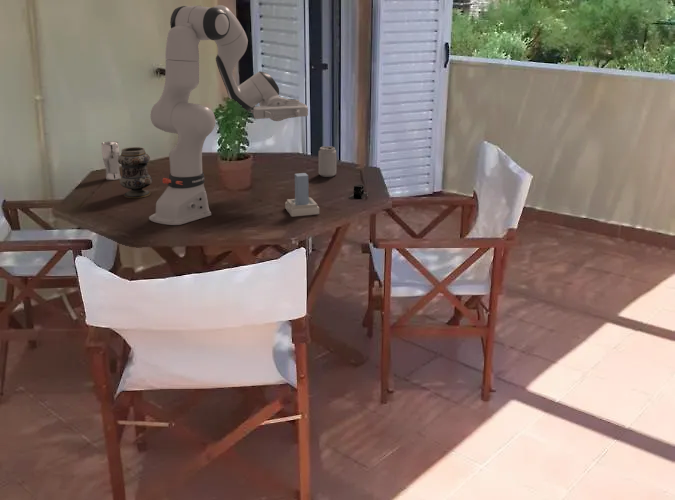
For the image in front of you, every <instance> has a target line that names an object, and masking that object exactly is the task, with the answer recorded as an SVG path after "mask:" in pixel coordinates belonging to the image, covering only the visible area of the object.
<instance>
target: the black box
mask: <svg viewBox="0 0 675 500" xmlns="http://www.w3.org/2000/svg"><path fill="white" fill-rule="evenodd" d="M367 193H368V192H365V185H364V184H362V183H356V184H355V185H354V186H353V193H352V194H351V195H350V196H349V197H348V199H354V200H363V199H364V198H365V197H367V195H368V194H367Z"/></svg>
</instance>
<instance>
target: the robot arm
mask: <svg viewBox="0 0 675 500" xmlns="http://www.w3.org/2000/svg"><path fill="white" fill-rule="evenodd" d="M169 23H170V24H169V25H170V30H169V31H168V32H167V37H166V43H165V46H166V47H165V76H164V79H165V80H164V86H163V90H162V93H161V96H160V97H159V100H157V102H156V103H155V104H153V106H152V108H151V109H150V122H151V123H152V125H153V126H154V127H155V128H156V129H159V130H160V131H162V132H165V133H169V134H176V135H177V137H178V138H177V143H176V145H175V146H174V147H173V148H171V149H170V150H169V153H168V157H169V158H168V159H169V170H170V171H169V172H170V174H169V176H168V178H167V177H163V178H162V183H163V184H167V187H166V188H165V189H164V191H163V192H162V194H161V195H160V197H158V199H157V201H156V203H155V213H153V214H151V215H149V216H148V220H149V221H151V222H154V223H157V224H161V225H168V226H180V225H184V224H187V223H190V222H194V221H197V220H199V219H203V218H207V217H210V216H212V212H211V210H210V208H209V206H210V205H209V201H208V195H207V191H206V188H205V174H204V171H203V147H204V143H205V140H206V139H207V137H208V136H209V135H210V134H212V132H213V130H214V128H215V126H216V116H215V113H214V111H213V110H212V109H211V108H210V107H207V106H205V105H202V104H199V103H193V102H189V99H190V94H191V93H192V91H193V90H195V89H196V88H198V87H199V86H198V85H199V83H200V53H199V52H200V51H199V49H200V48H199V45H200V42H201V41H214V43H215V45H216V46H217V54H216V56H215V61H216V62H215V63H216V66H217V70H218V72H219V75H220V77H221V79H222V82H223V84H224V87H225V89H226V92H227V96H228V99H229V98H230V99H234V100H235V101H237V102H238V103H239V104H240V105H242V107H243V108H245V109H246V110H247V111H248V112H250V113H251V114H253V118H254V119H255V120H260V119H261V120H265V119H270V120H271V121H274V122H281V121H284V120H287V119H292V118H300V117H303V118H304V117H308V115H309V113H308V112H309V107H308V105H306V104H305V103H303V102H300V100H299V99H295V98H293V99H292V98H285V97H280V88H279V85H278V84H277V82H276V81H275V80H274V78H273V77H272V76H271V75H270V74H269V73H267V72H264V71H261V70H260V71H258V72H256V73H254V74H253V75H252V76H250V77H249V78H247V79H246V80H245V81H244V82H243V81H242V83H240V84H239V85H238V84H237V82H236V79H235V77H234V74H233V73H234V70H235V67H236V65H237V64H238V62H239V61H240V60H241V59H242V57H243V56H244V55H245V53H246V51H247V48H248V42H249V40H248V36H247V33H246V31H245V30H244V27H243V26H242V24H241V22H240V21H239V19H238V18H237V17H236V15H234V13H233V11H231V9H230V8H229V7H227V6H225V5H222V4H218V5H215V6H213V7H209V6H202V5H182V6H179V7H177V8H175V9H174V10H173V11H172V13H171V15H170V22H169ZM257 105H258V106H257Z"/></svg>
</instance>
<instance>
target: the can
mask: <svg viewBox="0 0 675 500" xmlns="http://www.w3.org/2000/svg"><path fill="white" fill-rule="evenodd" d="M318 174H319V175H320V176H321V177H324V178H332V177H335V175H337V150H336V148H335V147H334V146H332V145H331V146H330V145H327V146H321V147H319V150H318Z"/></svg>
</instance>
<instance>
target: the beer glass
mask: <svg viewBox="0 0 675 500" xmlns="http://www.w3.org/2000/svg"><path fill="white" fill-rule="evenodd" d="M101 154H102V160H103V163H104V168H105V179H106V180H107V181H118V180H120V178H121V177H122V176H121V175H122V174H121V172H120V164H119V162H118V157H119V156H120V155H121V153H120V146H119V141H115V140H113V141H111V140H110V141H103V142H101Z"/></svg>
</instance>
